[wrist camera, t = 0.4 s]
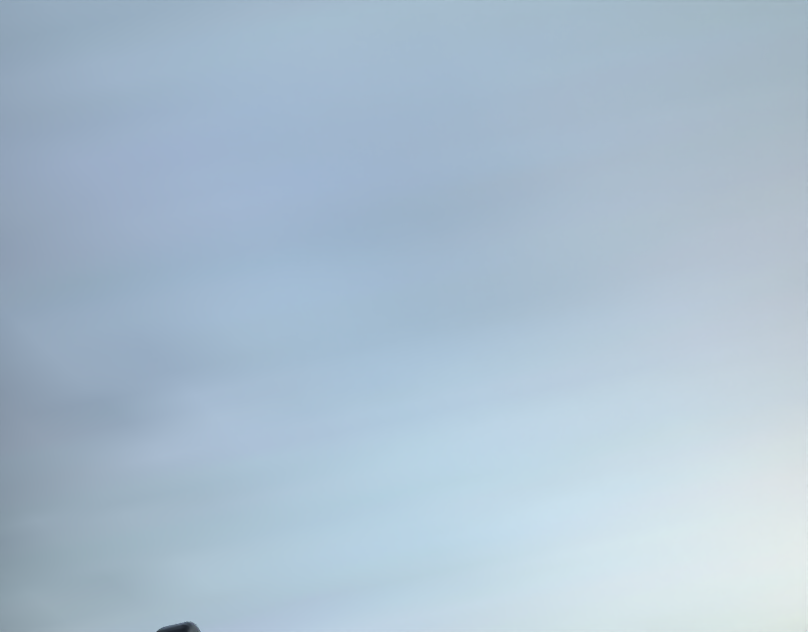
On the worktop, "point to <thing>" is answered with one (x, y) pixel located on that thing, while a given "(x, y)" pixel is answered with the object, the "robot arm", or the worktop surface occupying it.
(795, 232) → the worktop surface
